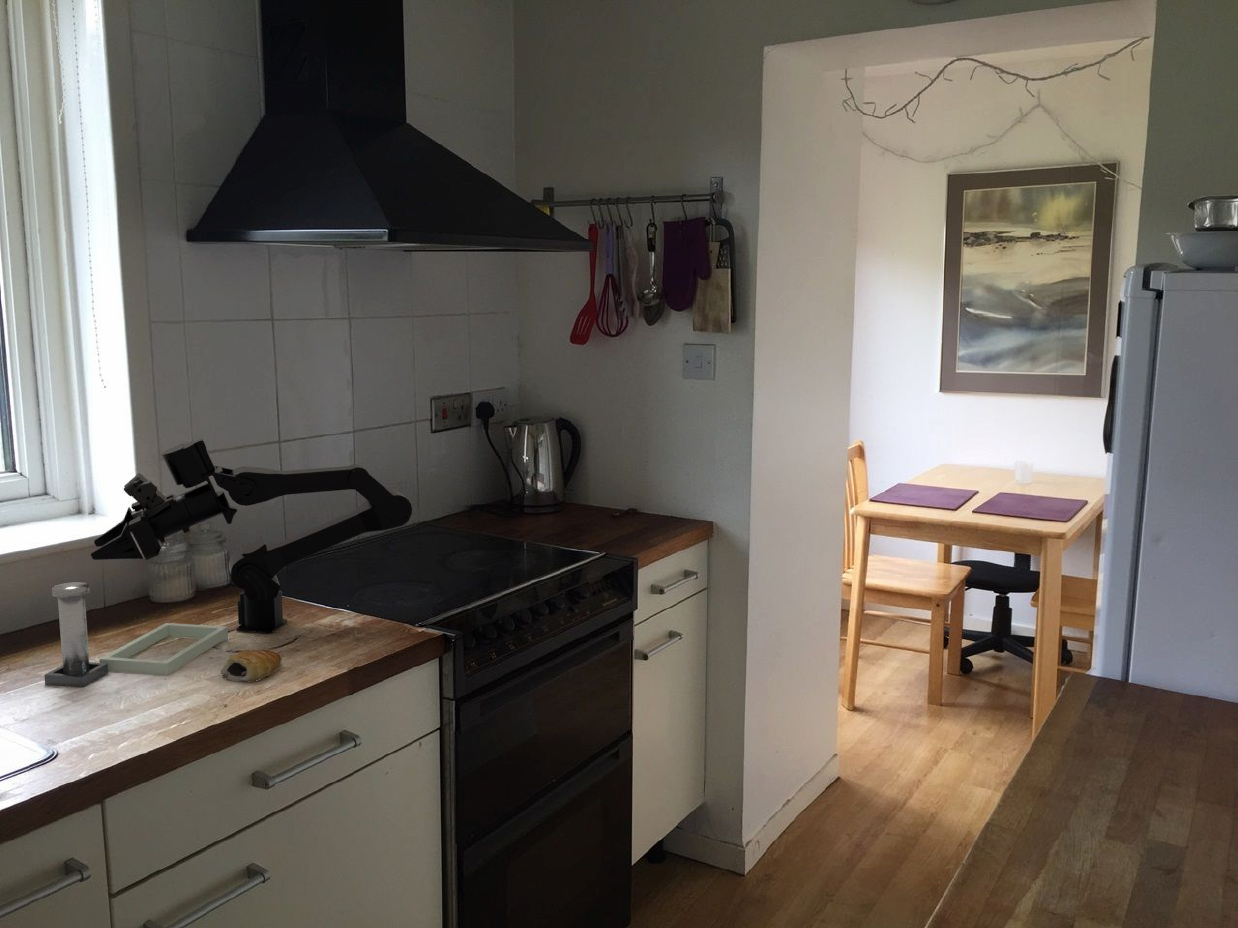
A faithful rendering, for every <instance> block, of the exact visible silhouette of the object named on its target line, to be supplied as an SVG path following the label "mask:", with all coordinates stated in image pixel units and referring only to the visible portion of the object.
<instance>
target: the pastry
mask: <svg viewBox="0 0 1238 928" xmlns="http://www.w3.org/2000/svg"><path fill="white" fill-rule="evenodd" d="M281 661H282V657H281V654H280V653H279V652H276V651H274V650H271V649H267V648H264V649H263V648H262V649H259V648H258V649H249V650H247V649H245V650H241V651H239V652H237V653H235V654H232V655H230V657H228V658H227V660H226V661H225V663H224V665H223V666H222V668H221V669H220V674H221V675H222V677H223V678H226V679H225V680H227V679H228V680H227V681H231V680H235V682H244V681H246V682H245V683H249V682H248V681H251V682H257V681H256V680H258V681H260V680H263V679H264V678H265V677H267V676H268V677H269V676H271V675H273V672H274V671H275V670H276V671H277V670H278V669H279V668H280V666H281V663H282V662H281ZM277 668H278V669H277ZM276 671H275V672H276ZM275 672H274V673H275ZM270 674H271V675H270ZM262 678H263V679H262ZM259 679H260V680H259ZM236 680H237V681H236ZM238 680H239V681H238Z"/></svg>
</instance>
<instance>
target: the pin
mask: <svg viewBox="0 0 1238 928" xmlns="http://www.w3.org/2000/svg"><path fill="white" fill-rule="evenodd" d="M87 594H90V584H89V583H87V582H83V581H82V582H80V581H79V582H77V581H75V582H73V581H72V582H65V583H61V584H57V585H54V586H52V588H51V595H52V597H54V598H57V603H58V620H59V631H60V632H59V633H60V645H61V646H60V647H61V648H60V649H61V659H62V665H63V674H68V675H83V674H84V673H86V672H88V671H90V665H89V662H90V653H89V640H88V638H89V637H88V625H87V612H86V611H87V610H86V608H87V607H86V596H85V595H87Z"/></svg>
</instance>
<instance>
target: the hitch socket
mask: <svg viewBox="0 0 1238 928" xmlns="http://www.w3.org/2000/svg"><path fill="white" fill-rule="evenodd" d="M89 665H90V671H88V672H86V673H84V674H83V675H68V674H63V664H62V665H60V666H59V667H56V668H54V669H53V670H50V671H48V672H47V673H45V674H44V685H45V686H53V687H55V686H56V687H67V688H68V687H69V688H70V687H71V688H81V689H82V688H85V687H87V686H88V685H91V683H94V682H95V681H97V680H99V679H101V678H102V677H104V676H106V675H108V674H109V671H108V663H100V662H94V661H93V662H92V661H89Z"/></svg>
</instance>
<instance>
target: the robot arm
mask: <svg viewBox="0 0 1238 928" xmlns="http://www.w3.org/2000/svg"><path fill="white" fill-rule="evenodd" d="M161 456H162V458H163V460H164V463H165V465H166V467H167V468H168V471H169V472H170V475H171V477H172V478H173V481H174V483H175V486H183V487H184V488H185V489H190V490H188V491H184V492H183V493H181V494H178V495H176V494H173V493H170V494H167V495H164V494H163V493H162V492H161V491H160V490H159V489H158V486H157V485H155V484H154V483H153V481H152V480H148V479H147V478H146V477H145V476H144V475H143V474H142V473H140V472H138V473H137V474H136V475H135V476H134V477H132V478H131V479H130V480H129V481H128V482H127V483H126V484H125V485H124V486H123V491H124V492H125V493H126V494H127V495H128V496H129V497H132V498H133V499H134V500H135V502H132V503H131V507H130V506H128V507H127V510H126V512H125V515H124V518H123V519H122V520H121V521H119V522H118V523H117V524H115V525H114V526H113V527H112V528H110V529H109V530H107V531H106V532H104V533H103V534H101V535H100V536H98V537H97V538H95V539H94V540H93V543H94V545H95V546H96V547H98V548H97V549H95V550H94V551H92V552H91V553H90V557H91V558H92V560H94V561H99V560H138V559H139V560H144V559H145V560H146V561H148V560H151V559H153V558H155V557H157V556H159V554H160V552H161V550H162V544H163V543H165V542H166V539H168V538H170V537H172V536H174V535H177V534H179V533H184V534H186V533H189V532H190V531H191V528H193V527H195V526H198V525H200V524H203V523H206V522H208V521H209V520H212V519H215V518H217V517H218V516H219V517H220V516H223V518H224V520H225V522H226V524H227V525H232V523H233V519H234V517H235V515H236V513H237V512H238V508H237V507H236V506H233V505H231V504H230V503H229V500H228V498H227V496H226V494H225V491H226V492H228V493H227V494H228V496H229V497H230V499H231V500H232V501H233V502H235V503H236V504H238V505H239V506H246V507H248V506H252V505H256V504H260V503H265V502H268V501H271V500H274V499H276V498H279V497H283V496H286V495H287V496H288V495H297V494H298V495H299V494H311V493H312V494H313V493H321V492H322V493H323V492H333V491H334V492H336V491H345V490H354V491H355V492H358V493H359V495H361V496H362V497H363V498H364V499H365V501H364V502H363V503H362V504H360V505H359V506H358V507H357V508H356V509H355V510H354V509H353V511H351V512H348V513H346V514H343V515H341V516H338V517H336V518H333V519H331V520H328V521H327V522H326V521H325V522H324V523H322V524H319V525H317V526H314V527H312V528H309V529H308V530H304V531H302V532H300V533H298V534H295V535H293V536H290V537H288V538H285V539H283V540H280V541H277V542H273V543H266V541H265V539H264V537H263V536H261V537H258V538H257V539H255V540H254V541H252V542H250V543H247V544H240V545H239V549H238V550H237V551H235V552H233V554H232V555H231V556H230V559H229V562H228V569H229V573H230V578H231V581H232V583H233V584H234V585H235V586H237V587H238V588H240V589H242V590H243V591H242V592H240V593H239V600H238V601H237V616H238V617H237V621H238V625H239V626H237V627H235V629H236V631H237V632H246V633H247V632H248V633H263V634H264V633H265V634H271V633H274V632H275V631H277V630H278V629H280V628H281V627H283V626H284V625H285V624H287V623H288V619H286V618H284V613H283V612H284V609H283V590H280V589H281V585H280V581H279V579H278V577H277V575H279V573H280V572H282V571H283V570H284V569H285V568H286V567H288V566H290V565H292V564H295V563H297V562H299V561H301V560H304V559H307V558H308V557H311V556H313V555H315V554H318V553H320V552H323V551H325V550H327V549H330V548H332V547H334V546H337V545H339V544H341V543H344V542H346V541H349V540H351V539H352V538H356V537H358V536H361V535H363V534H365V533H374V532H382V531H383V532H384V531H387V530H391V529H395V528H396V529H397V528H399V527H403V526H404V525H406V524H408V522H409V521H410V519H411V517H412V515H413V508H412V507H413V506H412V504H411V501H410V500H409V499H408V498H407V497H406V496H405V495H403V494H402V492H401V491H399V490H397V489H394V488H387V487H385V486H384V485H382V483H380V482H379V481H378V480H377V479H375V478H374V477H373V476H372V475H371V474H370V473H369V472H368V471H367V469H366V468H365V467H364V466H362V465H361V464H356V463H355V464H350V465H346V466H345V465H344V466H332V467H318V468H306V469H304V468H303V469H293V470H292V469H291V470H290V469H289V470H275V469H271V468H265V467H255V466H246V465H245V466H240V467H239V466H238V467H236V468H234V469H232V468H229V467H223V466H221V465H220V466H218V465H215V464H214V463H213V460H212V459H211V456H210V454H209V452H208V449H207V445H206V443H205V441H204V439H203V438H199V439H197V440H193V441H189V442H186V443H180V444H177V445H174V446H173V447H170V448H168V449H166V450H165V451H163V452H162V453H161ZM210 477H213V480H214V481H215V484H216V485H217V487H219V488H221V489H223V490H218V491H217V490H216V488H215V486H214V484H213V482H212V480H211V478H210ZM204 482H206V483H204ZM202 483H204V484H202ZM201 484H202V485H201ZM198 485H200V486H198ZM196 486H197V487H196ZM194 487H195V488H194ZM191 488H192V489H191Z"/></svg>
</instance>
